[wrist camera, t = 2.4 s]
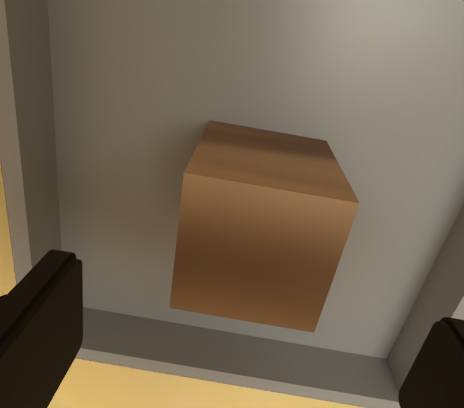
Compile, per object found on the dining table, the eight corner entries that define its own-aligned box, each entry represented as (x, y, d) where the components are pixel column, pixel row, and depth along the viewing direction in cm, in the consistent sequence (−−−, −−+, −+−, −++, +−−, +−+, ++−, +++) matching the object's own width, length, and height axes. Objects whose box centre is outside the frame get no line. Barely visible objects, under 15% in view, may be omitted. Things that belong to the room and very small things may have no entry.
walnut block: (209, 120, 16) (183, 172, 10) (326, 140, 16) (360, 203, 10) (196, 221, 18) (169, 307, 13) (298, 239, 18) (314, 332, 13)
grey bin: (29, -134, 13) (-44, -182, 10) (588, -32, 13) (689, -47, 10) (58, 302, 22) (24, 349, 19) (391, 359, 22) (412, 415, 19)
